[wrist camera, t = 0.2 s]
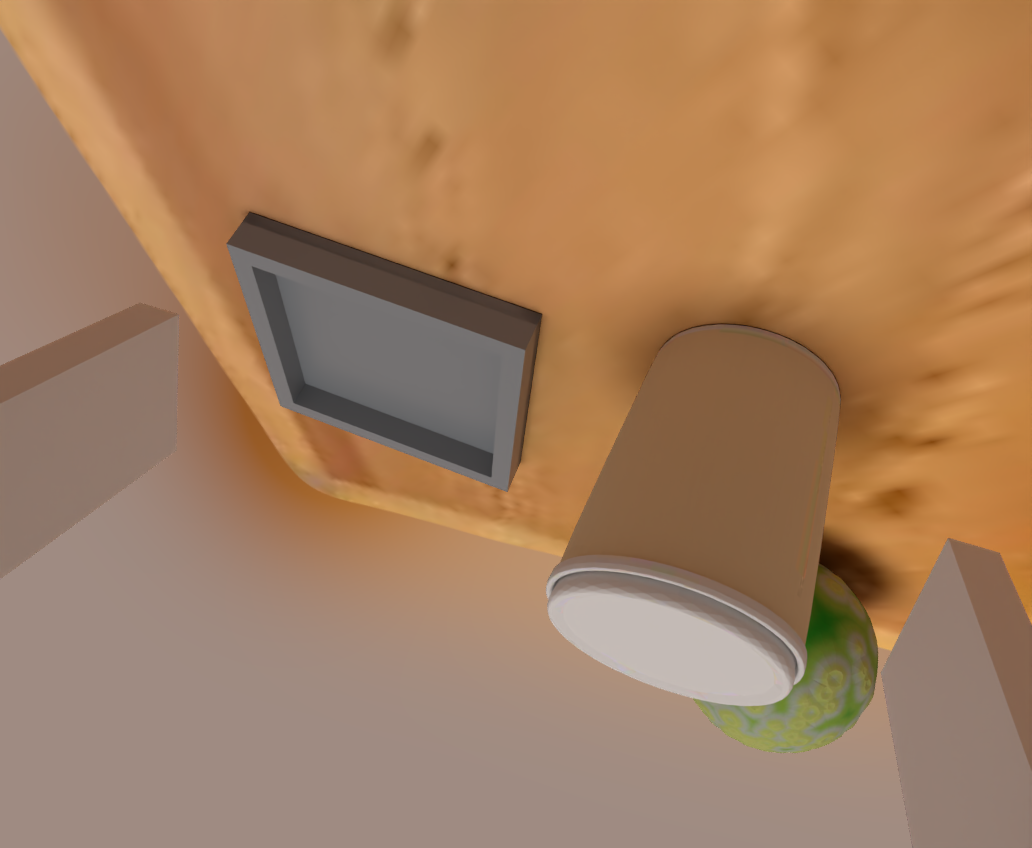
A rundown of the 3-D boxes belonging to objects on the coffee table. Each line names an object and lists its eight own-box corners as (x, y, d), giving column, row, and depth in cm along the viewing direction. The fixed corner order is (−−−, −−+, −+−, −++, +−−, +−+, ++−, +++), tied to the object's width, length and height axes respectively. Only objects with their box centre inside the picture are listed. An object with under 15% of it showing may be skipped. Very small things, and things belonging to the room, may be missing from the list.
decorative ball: (898, 538, 42) (861, 743, 37) (888, 623, 50) (857, 802, 45) (695, 500, 46) (639, 680, 42) (715, 584, 54) (669, 744, 49)
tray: (249, 212, 40) (226, 243, 39) (541, 314, 38) (525, 350, 37) (297, 379, 52) (280, 406, 51) (520, 462, 50) (507, 492, 49)
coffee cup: (642, 424, 42) (556, 658, 37) (629, 290, 35) (518, 560, 29) (847, 469, 39) (788, 733, 33) (882, 332, 31) (814, 644, 26)
